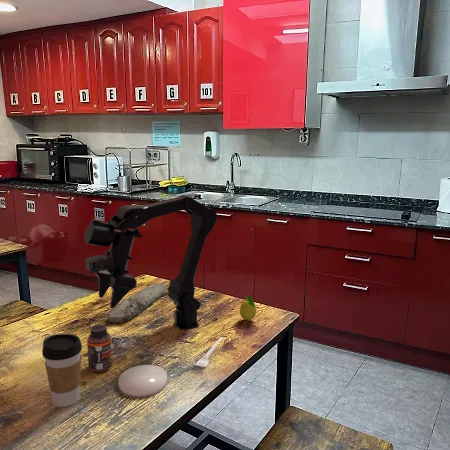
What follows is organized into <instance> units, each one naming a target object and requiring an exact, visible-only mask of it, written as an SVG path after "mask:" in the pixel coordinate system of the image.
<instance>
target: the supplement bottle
mask: <svg viewBox="0 0 450 450" xmlns="http://www.w3.org/2000/svg"><path fill="white" fill-rule="evenodd" d="M86 345H87V361H88V363H87V364H88V365H87V366H88V370H90V371H91V372H93V373H103V372H106V371H108V370H110V368H111V367H112V363H113V362H112V361H113V360H112V357H113V355H112V337H111V335H110V333H109V332H108V330H107V326H106V325H103V324H95V325H94V326H91V328H90V333H89V335H88V336H87V343H86Z"/></svg>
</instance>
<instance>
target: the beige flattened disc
mask: <svg viewBox="0 0 450 450" xmlns="http://www.w3.org/2000/svg"><path fill="white" fill-rule="evenodd" d="M117 384H118V385H117V387H118V389H119V391H120V393H122V394H124V395H126V396H129V397H133V398H144V397H150V396H154V395H155V394H156V395H157V394H158V393H160V392H161V391H163V389H164V388H166V386H167V384H168V373H167V372H166V370H164V369H163V368H162V367H160V366H157V365H152V364H142V365H136V366H132V367H130V368H128V369H125V371H123V372H122V373H121V374H120V375H119V377H118V379H117Z"/></svg>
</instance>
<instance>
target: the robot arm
mask: <svg viewBox="0 0 450 450" xmlns="http://www.w3.org/2000/svg"><path fill="white" fill-rule="evenodd" d="M181 211H184V212H185V213H186V214H188V215H189V216H190V229H191V232H190V233H191V234H190V236H189V239H188V244H187V247H186V250H185V254H184V257H183V261H182V264H181V267H180V271H179V273H178V275H177V276H176V277H175V279H174V278H170V281H169V284H168V285H169V286H168V287H167V289H166V290H167V292H168V293H167V296H168V298H169V299H170V300H171V301H172V304H174V305H176V306H175V311H173V313H174V317H173V318H174V324H175V326H177V328H178V329H179V330H187V329H192V328H198V327H200V325H199V323H198V310H200V307H201V302H200V301H199V300H198V299H196V298H195V290H196V287H195V281H194V280H195V276H196V274H197V273H196V272H197V269H198V265H199V263H200V259H201V256H202V252H203V248H204V246H205V242H206V239H207V236H208V235H209V234H210V233H211V232H212V231H213V229H214V228H215V226H216V224H217V222H218V214H217V211H216V209H214V208H211V207H207V206H205V205H204V204H202V203H200V202H199V201H197V200H196V199H194V198H193V197H192V196H190V195H186V194H182V195H179V196H176V197H171V198H168V199H164V200H160V201H157V202H156V201H155V202H152V203H147V204H130V205H129V204H128V205H126V204H125V205H123V206H120V207H118V210H117V212H116V213H115V214H114V215H113V216H112V217H111V218H109V220H107V221H106V222H104V221H100V220H98V219H94V218H92V219H91V220H90V223H88V226H87V227H86V228H85V230H84V235H83V237H84V238H83V240H84V244H86V245H92V246H97V247H103V248H107V247H109V246H110V247H109V249H106V250H105V252H104V253H105V254H102V255H95V256H90V257H86V258H85V267H86V268H85V269H86V271H88V272H89V273H90V274H95V275H96V276H97V279H98V280H97V281H98V297H99V298H101V299H102V298H104V296H105V295H106V294H107V292H108V290H109V288H110V287H111V298H110V303H109V304H110V306H109V308H110V309H114V308H115V307H116V306H117V305H118V304H120V303H121V301H123V298H124V297H126V295H127V294H128V293H130V291H132V290H133V289H136V286H137V283H138V280H137V279H136V278H135V277H134V276H133V275H131V274H128V273H129V270H128V269H127V266H128V263H129V261H132V260H133V259H132V258H133V256H132V255H130V254H131V252H132V248H133V244H134V240H135V238H139V239H141V238H143V235H142V233H141V232H140V230H139V227H141V226H143V225H145V224H147V223H149V221H151V220H153V219H155V218H159V217H163V216H166V215H170V214H173V213H177V212H181Z"/></svg>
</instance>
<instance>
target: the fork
mask: <svg viewBox="0 0 450 450" xmlns="http://www.w3.org/2000/svg"><path fill="white" fill-rule="evenodd" d="M221 340H223V336H220V337H219V338H218V340H217V341H216V342H215V343H214V344H213V345H212V346H211V348H210V349H209V350H208V352H206V353H205V355H204V356H202V357H200V358H199V359H198V361H196V363H193V364H192V365H193V366H197V367H202V368H205V367H206V368H207V366H208V365H209V362H210V359H209V357H210V356H211V354H212V353H213V352H214V350H216V347H218V345H219V343H220V342H221Z"/></svg>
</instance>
